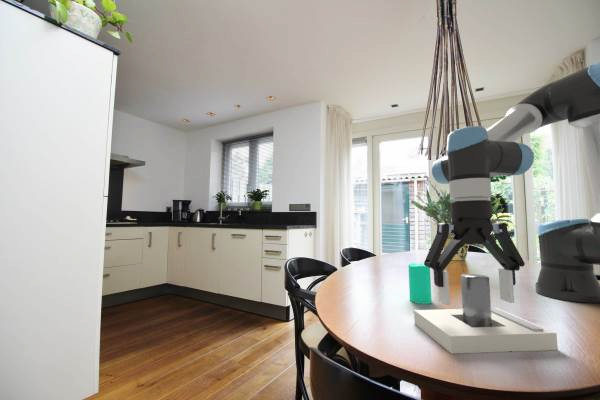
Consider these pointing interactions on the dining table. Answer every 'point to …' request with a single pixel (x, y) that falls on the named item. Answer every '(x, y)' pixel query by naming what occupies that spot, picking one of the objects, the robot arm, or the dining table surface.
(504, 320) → the jig
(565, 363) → the dining table surface
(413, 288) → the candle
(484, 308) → the tall grey prism
